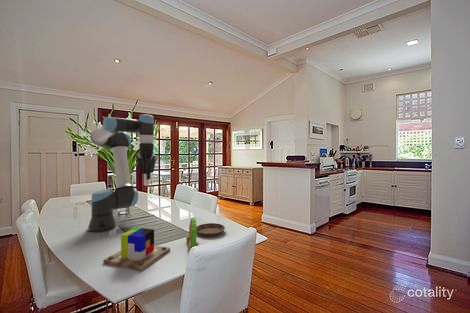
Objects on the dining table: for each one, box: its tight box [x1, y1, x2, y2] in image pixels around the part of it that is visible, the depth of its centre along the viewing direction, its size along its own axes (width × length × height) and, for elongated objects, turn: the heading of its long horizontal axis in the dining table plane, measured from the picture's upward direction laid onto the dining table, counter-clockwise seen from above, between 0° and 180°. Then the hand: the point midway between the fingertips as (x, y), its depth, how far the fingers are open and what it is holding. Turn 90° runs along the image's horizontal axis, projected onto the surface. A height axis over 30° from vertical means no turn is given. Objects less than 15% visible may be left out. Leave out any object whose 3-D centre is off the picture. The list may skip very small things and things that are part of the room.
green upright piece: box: [185, 217, 200, 252], centre depth 117 cm, size 16×5×15 cm, turn 17°
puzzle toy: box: [120, 227, 155, 260], centre depth 105 cm, size 10×10×10 cm
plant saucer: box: [196, 222, 226, 238], centre depth 138 cm, size 18×18×3 cm
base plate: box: [103, 244, 171, 272], centre depth 106 cm, size 20×20×2 cm
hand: (146, 185), depth 128 cm, fingers closed
